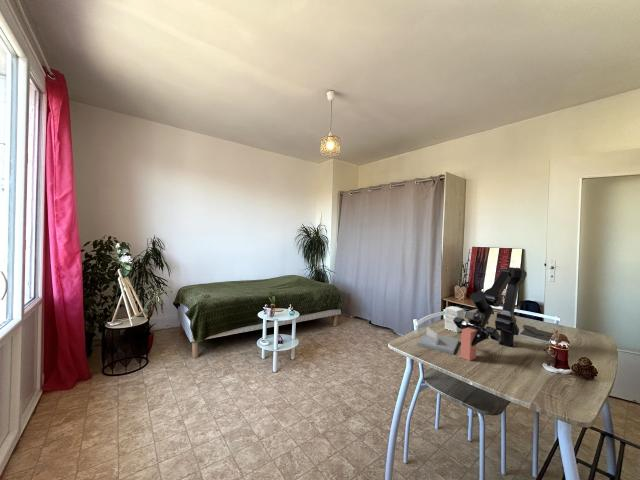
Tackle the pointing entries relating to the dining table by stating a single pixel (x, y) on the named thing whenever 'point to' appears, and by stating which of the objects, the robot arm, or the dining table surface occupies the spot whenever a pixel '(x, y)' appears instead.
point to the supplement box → (449, 317)
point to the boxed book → (468, 344)
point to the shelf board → (440, 343)
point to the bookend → (432, 335)
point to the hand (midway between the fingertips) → (467, 343)
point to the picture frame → (534, 334)
